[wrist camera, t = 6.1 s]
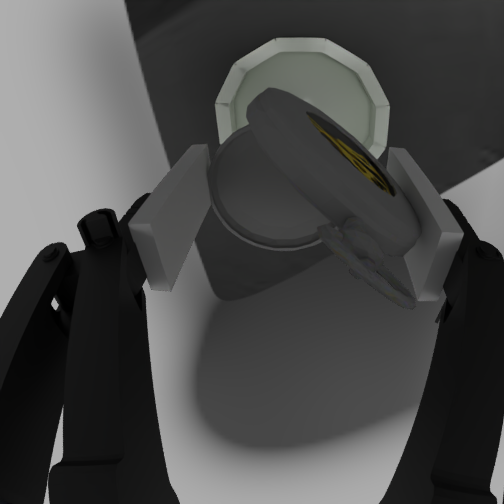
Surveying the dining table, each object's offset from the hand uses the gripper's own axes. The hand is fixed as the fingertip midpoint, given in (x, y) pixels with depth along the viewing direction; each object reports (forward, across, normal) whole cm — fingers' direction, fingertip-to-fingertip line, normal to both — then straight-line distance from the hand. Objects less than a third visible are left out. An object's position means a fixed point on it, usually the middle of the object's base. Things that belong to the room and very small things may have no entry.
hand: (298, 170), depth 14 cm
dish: (+16, 0, -1) cm, 16 cm away
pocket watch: (0, 0, 0) cm, 0 cm away
